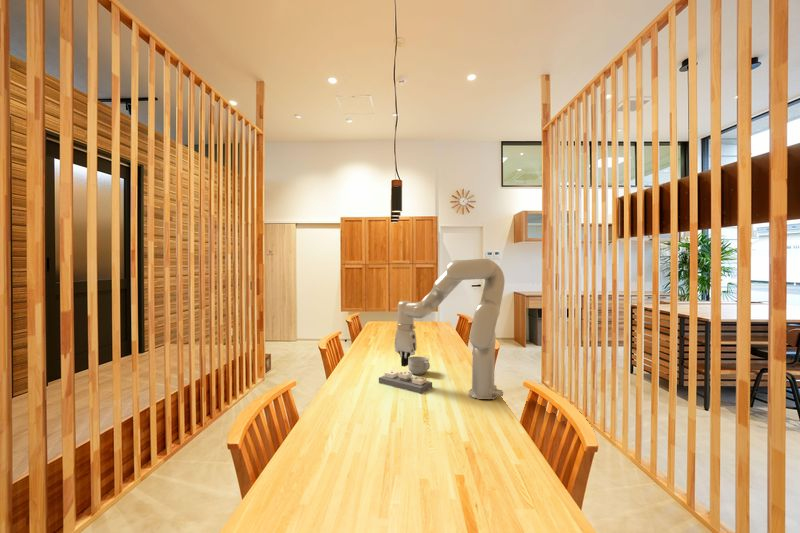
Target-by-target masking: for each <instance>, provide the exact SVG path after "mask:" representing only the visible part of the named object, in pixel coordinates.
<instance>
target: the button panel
mask: <svg viewBox="0 0 800 533" xmlns="http://www.w3.org/2000/svg"><path fill="white" fill-rule="evenodd" d="M413 378H414V377H413V376H412V377H410V380H409V381H407V382H404V381H400V377H398V376H397V377H395V378H393V379H392V378H388V377H385V374H384V375H382V376H380V377H378V383H379V384H381V385H382V384H383V385H385V386H388V387H389V386H390V387H394V388H397V389H401V390H406V391H409V392H412V393H417V394H420V395H421V394H422V393H424V392H426V391H428V390H430V389H432V388H433V381H428V380H426V383H424V384H423V385H417V384H414V383H412V379H413Z"/></svg>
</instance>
